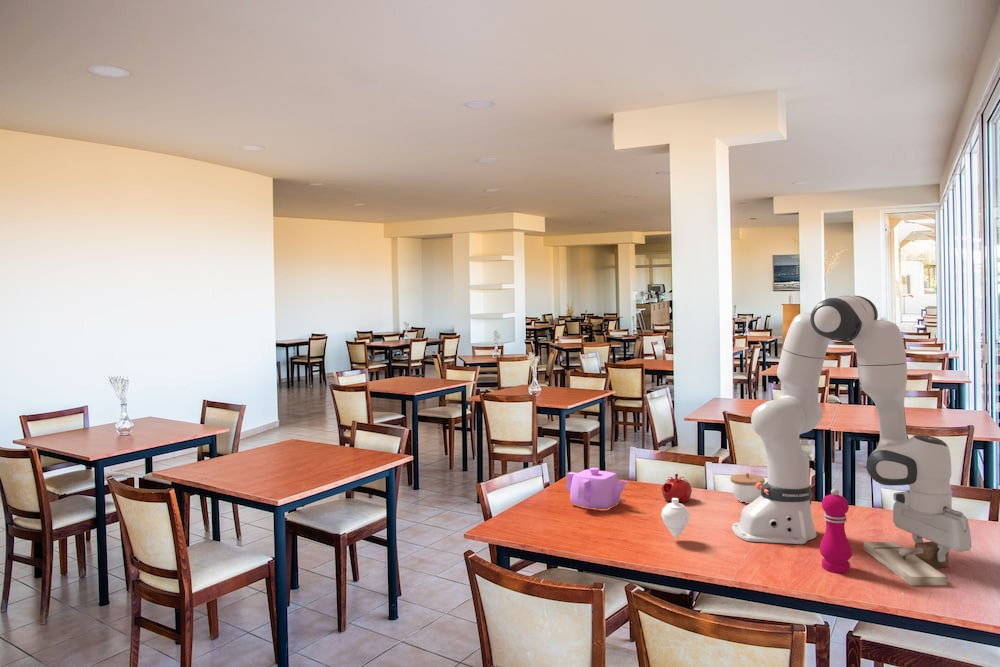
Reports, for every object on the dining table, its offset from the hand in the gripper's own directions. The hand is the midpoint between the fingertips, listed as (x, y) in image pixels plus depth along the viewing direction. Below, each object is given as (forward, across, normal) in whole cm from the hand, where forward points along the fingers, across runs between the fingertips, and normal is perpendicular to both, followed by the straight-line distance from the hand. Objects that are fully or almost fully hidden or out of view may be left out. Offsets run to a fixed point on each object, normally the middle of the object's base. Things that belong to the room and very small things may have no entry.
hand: (930, 556), depth 168 cm
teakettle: (+2, +74, +60) cm, 95 cm away
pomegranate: (+2, +70, +33) cm, 77 cm away
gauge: (+2, 0, +3) cm, 3 cm away
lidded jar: (+2, +62, +12) cm, 63 cm away
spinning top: (+2, +34, +51) cm, 62 cm away
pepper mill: (+2, +5, +23) cm, 24 cm away
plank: (+2, +1, +7) cm, 7 cm away
